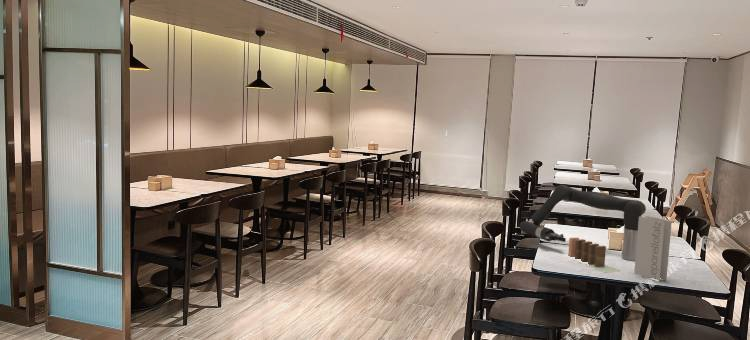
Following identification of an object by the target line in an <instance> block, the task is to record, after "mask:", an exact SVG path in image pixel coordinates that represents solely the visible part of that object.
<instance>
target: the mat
mask: <svg viewBox="0 0 750 340" xmlns="http://www.w3.org/2000/svg"><path fill="white" fill-rule="evenodd" d="M588 267H590V268H592V269H594V270H597V271H599V272H603V273H615V272H616V273H617V272H622V270H621V269H617V268H615V267H612V266H609V265H606V264H605V266H604V267H595V266H594V265H589V266H588Z"/></svg>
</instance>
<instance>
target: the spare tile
mask: <svg viewBox="0 0 750 340" xmlns="http://www.w3.org/2000/svg"><path fill="white" fill-rule="evenodd" d="M579 239H580V238H579V237H577V236H575V237H569V240H568V242H569V243H568V253H567V254H568V256H570V257H575V246H576V240H579Z"/></svg>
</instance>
